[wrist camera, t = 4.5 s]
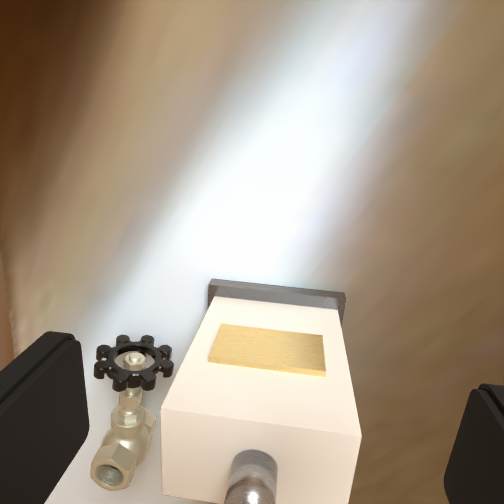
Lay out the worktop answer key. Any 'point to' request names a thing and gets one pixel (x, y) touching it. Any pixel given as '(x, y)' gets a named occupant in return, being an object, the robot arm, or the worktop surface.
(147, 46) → the worktop surface
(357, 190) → the worktop surface
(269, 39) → the worktop surface
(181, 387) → the pump housing
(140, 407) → the valve
